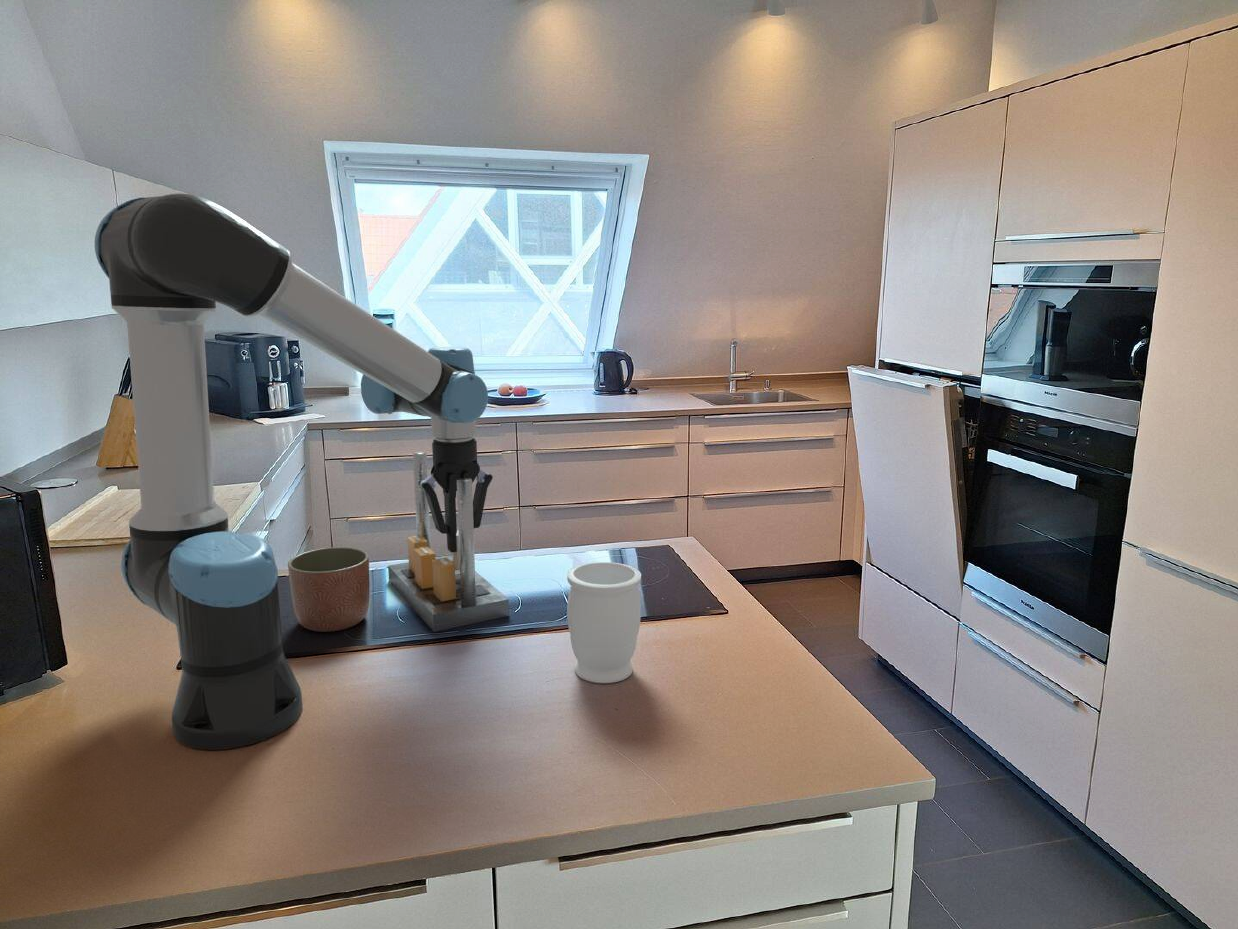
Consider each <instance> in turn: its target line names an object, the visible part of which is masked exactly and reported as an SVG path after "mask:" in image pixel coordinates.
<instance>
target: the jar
mask: <svg viewBox="0 0 1238 929" xmlns="http://www.w3.org/2000/svg"><path fill="white" fill-rule="evenodd" d="M641 582H642V573H641V572H640V571H639V569H637V568H635V567H634V566H631V565H628V564H624V563H620V562H613V561H612V562H611V561H593V562H586V563H582V564H579V565H576V566H573V567H572V568H570V570H568V572H567V583H568V584H569V585H570V589H569V590H568V595H567V596H568V597H567V607H566V617H567V626H568V632H569V634H570V635H569V636H570V638H569V639H570V644H571V649H572V651H573V654H574V656H575V658H576V660H577V661H576V662H575V664H574V671H575V673H576V675H577V677H579V678H581V679H583V680H584V681H587V682H591V683H595V684H612V683H613V684H614V683H619V682H621V681H624V680H626V679H627V678H629V677H630V676H631V675H632V673H633V670H634V669H633V664H632V662H631V660H632V658H633V656H634V654H635V650H636V648H637V643H638V642H637V641H638V636H639V631H640V626H641V620H642V619H641V616H642V615H641V614H642V613H641V612H642V610H641V609H642V607H641V596H640V591H639V588H638V586H639V585H640V584H641Z"/></svg>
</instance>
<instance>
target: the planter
mask: <svg viewBox="0 0 1238 929" xmlns="http://www.w3.org/2000/svg"><path fill="white" fill-rule="evenodd" d="M287 569H288V578H289V579H288V580H289V585H290V593H291V594H290V595H291V600H292V607H293V611H294V615H295V617H296V620H297V622H298V623H299V625H301V626H302V627H303V628H305V629H307V630H309V631H314V632H321V633H322V632H337V631H342V630H346V629H349V628H351V627H354V626H356V625H357V624H360V622H361V621H363V620H364V619H365V618H366V616H367V614H368V612H369V608H370V598H371V597H370V592H371V591H370V588H371V587H370V585H371V583H370V579H371V578H370V556H369V553H368V552H366V551H365V550H363V549H359V548H355V547H348V546H346V547H345V546H344V547H343V546H336V547H335V546H334V547H333V546H332V547H331V546H330V547H323V548H318V549H312V550H309V551H308V550H307V551H305V552H302V553H299V554H296V555H295V556H294V557H292V558H291V559H289V561H288V562H287Z"/></svg>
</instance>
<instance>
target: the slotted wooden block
mask: <svg viewBox="0 0 1238 929" xmlns="http://www.w3.org/2000/svg"><path fill="white" fill-rule="evenodd" d="M432 566H433V589H434V594H435V596H436V597H437V598H438V599H439V600H440V601H441V602H442V601H447V600H452V599H456V584H455V564H453V563H452V562H451V561H450V560H449V559H448V558H440V559H436V560H432Z"/></svg>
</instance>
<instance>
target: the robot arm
mask: <svg viewBox="0 0 1238 929" xmlns="http://www.w3.org/2000/svg"><path fill="white" fill-rule="evenodd" d="M94 253H95V257H96V259H97V262H98V265H99V266H100V268H101V270H102V271H103V273H104V275H105V276H106V277H107V278H108V280H109V291H110V303H111V309H112V310H113V311H115V312H116V313H117V314H118V315H119V316H120V317H121V318H123V320H125V322H126V325H127V340H128V351H129V363H130V364H129V365H130V377H131V390H132V402H133V404H132V405H133V415H134V416H133V417H134V430H135V443H136V454H137V455H136V456H137V457H136V458H137V464H138V465H137V466H138V468H137V469H138V481H139V493H140V508H139V509H138V510H137V511H136V513H134V514H133V515H132V516H131V517H130V518H129V521H128V525H129V536H130V537H129V538H130V539H129V541H128V542H126V545H125V547H124V550H123V552H122V557H121V572H122V577H123V580H124V581H125V583H126V585H127V587H128V589H129V590H130V592H131V593H132V595H133V596H135V598H137V600H139V601H140V602H141V603H142V604H143V605H145V606H147V607H149V608H150V609H152V610H154V611H155V612H156V613H158V614H159V615H161V616H163V618H165V619H167V620H168V621H170V622H171V623H173V624H174V625H175V627H176V631H177V638H178V648H179V654H180V655H179V657H180V662H181V664H180V665H181V676H180V680H179V684H178V688H177V692H176V695H175V696H176V697H175V700H174V704H173V707H172V712H171V724H172V725H171V726H172V732H173V736H174V738H175V740H176V741H177V742H179V743H180V744H182V745H184V746H186V747H188V748H193V749H197V750H204V751H205V750H206V751H208V750H209V751H218V750H228V749H235V748H237V749H238V748H239V747H241V748H242V747H245V746H250V745H253V744H257V743H259V742H262V741H265V740H267V739H270V738H271V737H274V736H276V735H277V734H279V733H282V732H283V731H285V730H286V729H288V728H289V727H291V726H292V725H293V724H294V723H295V722H296V721H297V720H298V719H299V717H300V716H301V714H302V712H303V708H304V707H303V696H302V689H301V687H300V684H299V683H298V680H297V678H296V677H295V676H296V675H295V674H294V672H293V670H292V668H291V666H290V664H289V662H288V660H287V658H286V655H285V652H284V648H283V646H284V645H283V633H282V623H281V622H282V619H281V609H280V607H281V606H280V598H279V597H280V596H279V586H278V585H279V584H278V579H279V578H278V577H279V571H278V566H277V564H276V560H275V555H274V551H273V549H272V547H271V545H270V544H269V543H268V542H267V541H266V540H264V539H263V538H261V537H259V536H258V535H257V536H256V535H254V534H251V533H248V532H242V533H237V532H236V531H229V518H228V512H227V510H226V509H224V508H222V507H221V506H220V505H218V504H217V503H216V501H215V492H214V490H215V489H214V473H213V459H212V458H213V456H212V443H211V441H212V440H211V426H210V425H211V424H210V407H209V392H208V377H207V376H208V374H207V359H206V358H207V357H206V339H205V323H206V321H207V320H208V319H209V318H210V317H212V315H213V314H214V313H215V312H216V311H217V307H216V306H217V305H216V304H218V303H219V304H221V305H223V306H226V307H228V308H230V309H232V310H234V311H236V312H238V313H239V314H241V315H243V316H245V317H249V318H250V317H254V316H257V315H260V316H262V317H263V318H265V319H267V320H268V321H269V322H272V323H274V324H275V325H276V326H279V327H280V328H282V329H284V330H286V331H287V332H289V333H290V334H293V335H294V336H296V337H298V338H299V339H301V340H303V341H305V342H306V343H308V344H310V345H312V346H313V347H315V348H317V349H319V350H320V351H322V352H323V353H326V354H327V355H329V356H331V357H332V358H335V359H336V360H338V361H339V362H340V363H342V364H344V365H346V366H348V367H350V368H351V369H354V370H355V371H356V372H358V373H360V374H362V377H361V381H360V391H361V392H360V394H361V398H362V402H364V405H365V406H366V408H367V409H368V410H369V411H370V412H371V413H373V414H374V415H375V414H377V415H382V414H388V415H391V414H393V413H401V412H402V413H407V414H411V415H416V416H417V415H418V416H422V417H428V418H430V425H431V427H430V429H431V436H432V437H433V438H434V439H432V441H431V448H432V449H431V450H432V463H433V464H432V467H431V469H430V475H428V477H427V478H426V479H425V480H420V481H419V483H418V484H419V486H420V487H421V488H422V490H423V491H424V492H425V495H426V498H427V501H428V505H429V512H430V514H431V518H432V520H433V521H432V522H433V524H434V526H435V529H436V531H438V532H439V533H440V534H444V535H446V546H447V547H446V548H447V550H448V552H450V553H452V555H453V564H455V568H456V569H457V570H458V571H460V557H459V529H458V528H457V527H458V523H457V522H458V521H457V504H456V499H457V479H461V478H470V479H472V484H473V483H474V481H475V480H476V484H475V488H474V493H473V526H474V529H478V528H480V527H481V525H482V524H481V523H482V519H483V514H484V507H485V503H486V498H487V493H488V487H490V484H491V482H492V480H493V479H494V478H493V475H492V474H491V473H488V472H487V471H483V470H482V469H481V467H480V466H481V465H479V463H478V443H477V442H478V441H477V439H476V438H475V436H476V435H477V421H476V420H478V419H480V417H481V416H482V415H483V414H484V412H485V410H487V409H486V408H487V405H488V401H489V392H488V388H487V385H486V384H485V381H484V380H483V379H482V378H481V377H480V376H478V375H477V374H476V371H475V366H474V365H475V364H474V356H473V353H472V351H471V350H470V349H469V348H467V347H465V346H455V345H454V346H450V345H449V346H436V347H431V348H429V349H428V350H426V349H424V348H422V347H421V346H419V345H418V344H416V343H415V342H413V341H411V339H409V338H407V337H406V336H404V335H402V334H401V333H400V332H398V331H397V330H395V329H393V328H392V327H390V326H389V325H388V324H386V323H385V322H383V321H381V320H380V319H378V318H377V317H375V316H374V315H372V314H371V313H369V312H367V311H366V310H365V309H363V308H362V307H360V306H358V305H357V304H355V302H352V301H351V300H350V299H348V298H347V297H345V296H343V295H342V294H341V293H338V292H337V291H336V290H334V289H332V288H331V287H329V286H328V285H327V284H325V283H324V282H323V281H321V280H319V279H318V278H316V277H314V276H313V275H312V274H310V273H309V272H307V271H305V270H304V269H302V268H301V267H300V266H298V265H296V264H295V263H293V260H292V257H291V256H292V255H291V252H290V251H289V249H287V248H285V247H284V246H283V245H282V244H280V243H278V242H277V241H275V240H274V239H272V238H271V237H269V236H268V235H266V234H265V233H263V232H262V231H260V230H259V229H257V228H256V227H254V226H253V225H251V224H250V223H248V221H246V220H244V219H242V218H241V217H240V216H238V215H236V214H235V213H233V212H231V211H230V210H228V209H227V208H225V207H223V206H222V205H219V204H217V203H216V202H214V201H212V200H210V199H206V198H205V197H200V196H197V195H194V194H192V193H189V194H188V193H170V194H165V195H160V196H158V195H157V196H148V197H147V196H146V197H138V198H133V199H130V200H127V201H125V202H123V203H121V204H119V205H117V206H116V207H114V208H113V209H111V210H110V211H109V212H107V214H106V215H105V216H104V217H103V218H102V219H101V221H100V222H99V224H98V226H97V229H96V231H95V236H94ZM435 482H436V483H437V484H438V485H439V487H440V488H441V489H442V493H443V501H444V502H443V503H444V504H443V506H444V516H443V513H442V509H441V506H440V502H439V500H438V499H439V498H438V495H437V493H436V491H435V489H436V483H435Z"/></svg>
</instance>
